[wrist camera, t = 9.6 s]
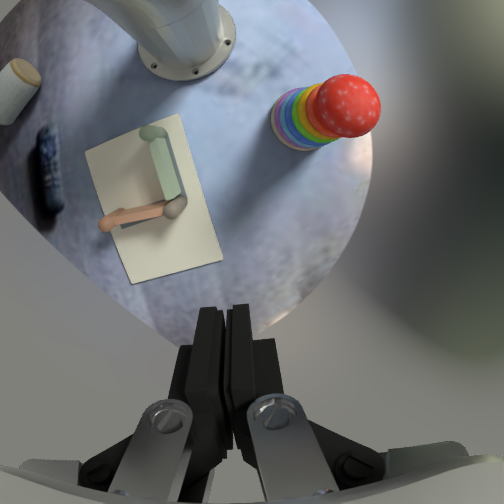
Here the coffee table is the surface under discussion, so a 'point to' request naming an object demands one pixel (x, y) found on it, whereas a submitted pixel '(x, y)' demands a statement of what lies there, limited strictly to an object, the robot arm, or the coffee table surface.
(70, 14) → the coffee table surface
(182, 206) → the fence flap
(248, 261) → the coffee table surface
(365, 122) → the stacking toy
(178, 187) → the bar
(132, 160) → the board
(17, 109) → the ceramic mug
